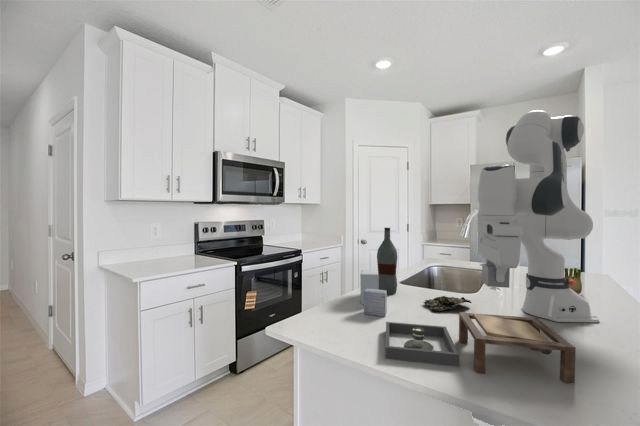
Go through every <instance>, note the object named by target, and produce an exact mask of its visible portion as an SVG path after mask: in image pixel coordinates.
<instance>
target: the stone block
mask: <svg viewBox="0 0 640 426" xmlns="http://www.w3.org/2000/svg"><path fill="white" fill-rule="evenodd" d="M481 269H482V270H481V282H482V283H483V284H484V285H485V286H486V287H488V288H489V287H491V288H508V289H509V288H510V271H511V270H510V269H511V268H507V271H506V273H505V279H504V282H497V281H496V280H495V274H496V270H497V268H496V264H495V263H494V264H486V263H482V264H481Z"/></svg>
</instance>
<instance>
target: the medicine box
mask: <svg viewBox="0 0 640 426" xmlns="http://www.w3.org/2000/svg"><path fill="white" fill-rule="evenodd" d="M387 298H388V295H387V291H386V290H377V289H366V290H365V291H364V304H363V315H369V316H376V317H378V316H379V317H386V315H387V313H388V312H387V311H388V310H387V309H388V307H387V306H388V305H387Z"/></svg>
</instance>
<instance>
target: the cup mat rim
mask: <svg viewBox="0 0 640 426" xmlns="http://www.w3.org/2000/svg"><path fill="white" fill-rule="evenodd" d="M414 327H419V328H422V329H424V332H425V334H424V337H433V338H442V339H443V341H444V344H445V346H446V349H447V351H443V350H442V351H441V350H434V349H433V350H424V349H414V348H407V347H405V346H404V347H403V346H393V345H391V344H390V333H392V334H399V335H400V334H402V335H411V336H413V333H412V330H413V328H414ZM385 359H387V360H398V361H405V362H412V363H413V362H414V363H415V362H416V363H421V364H423V363H424V364H431V365H441V366H452V367H460V365H459V364H460V354H459V352H458V350H457V348H456V345H455V344H454V341H453V339H452V337H451V334H450V333H449V331H448V328H447V327H446V326H440V325H428V324H426V325H425V324H418V323H406V322H395V321H392V322H391V321H386V322H385Z"/></svg>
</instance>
